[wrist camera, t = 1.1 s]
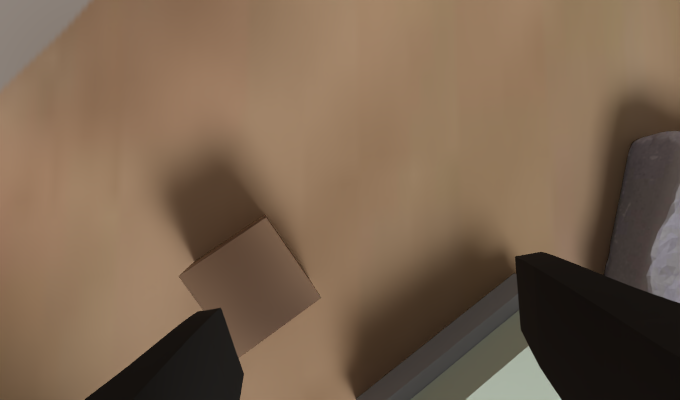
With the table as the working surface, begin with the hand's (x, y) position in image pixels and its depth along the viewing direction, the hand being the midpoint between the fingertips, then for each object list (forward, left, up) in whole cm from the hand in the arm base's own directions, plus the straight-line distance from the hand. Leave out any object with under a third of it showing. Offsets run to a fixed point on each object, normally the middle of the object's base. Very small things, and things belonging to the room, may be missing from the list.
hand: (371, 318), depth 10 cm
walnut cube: (-3, +1, -11) cm, 11 cm away
